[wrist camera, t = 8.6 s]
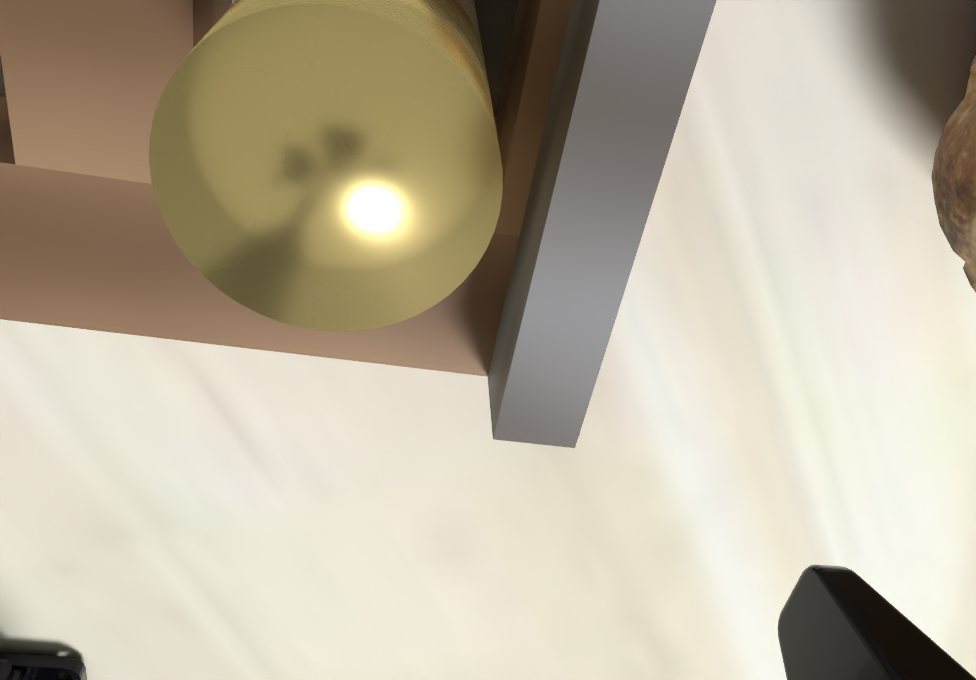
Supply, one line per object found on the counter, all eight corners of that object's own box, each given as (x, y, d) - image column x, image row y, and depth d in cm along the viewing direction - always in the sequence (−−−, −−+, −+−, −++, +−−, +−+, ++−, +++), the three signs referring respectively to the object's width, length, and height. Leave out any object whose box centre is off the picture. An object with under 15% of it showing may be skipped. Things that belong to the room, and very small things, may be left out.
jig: (546, 309, 20) (574, 447, 16) (-283, 202, 18) (-505, 332, 13) (706, -307, 14) (824, -344, 9) (-576, -623, 11) (-1184, -863, 7)
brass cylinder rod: (458, 133, 18) (471, 349, 11) (264, 103, 17) (155, 310, 10) (492, -73, 15) (535, 40, 9) (272, -116, 15) (140, -29, 8)
